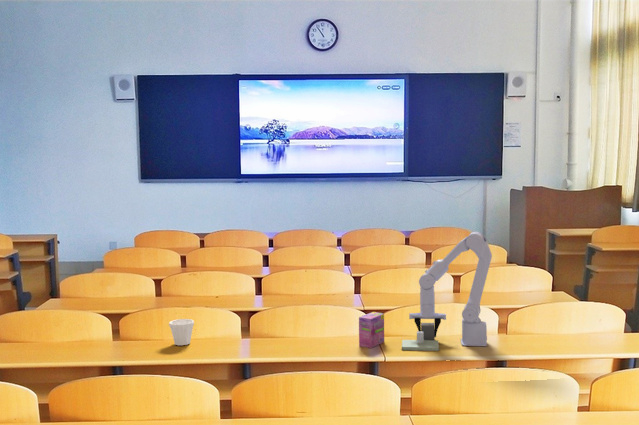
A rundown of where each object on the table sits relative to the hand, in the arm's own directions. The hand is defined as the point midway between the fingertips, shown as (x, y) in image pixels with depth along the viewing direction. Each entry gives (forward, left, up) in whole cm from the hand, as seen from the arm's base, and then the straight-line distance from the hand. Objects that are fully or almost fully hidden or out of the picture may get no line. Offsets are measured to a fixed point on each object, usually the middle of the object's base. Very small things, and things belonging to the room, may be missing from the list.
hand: (427, 336), depth 253 cm
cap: (0, 0, -2) cm, 2 cm away
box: (+22, +7, -2) cm, 23 cm away
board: (+3, +9, -2) cm, 10 cm away
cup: (+99, +13, -2) cm, 100 cm away
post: (+3, +9, 0) cm, 10 cm away
